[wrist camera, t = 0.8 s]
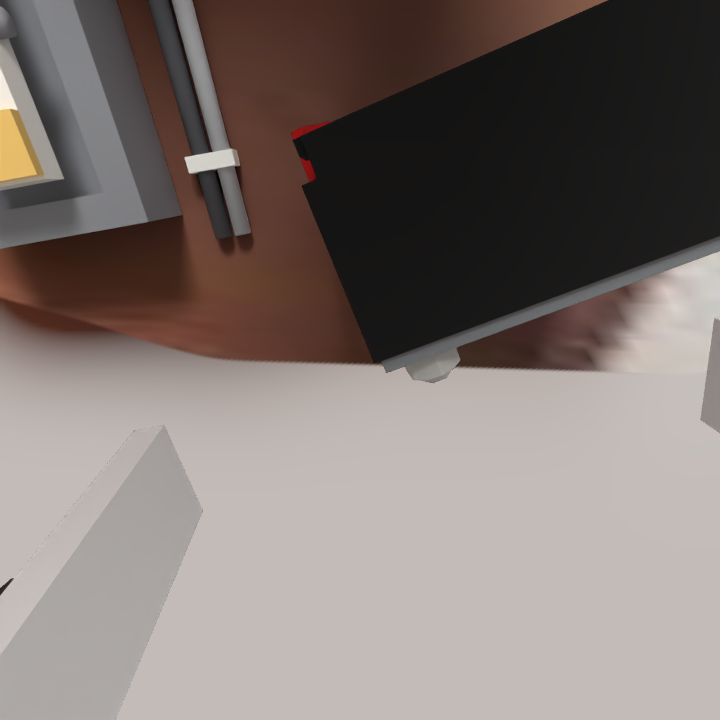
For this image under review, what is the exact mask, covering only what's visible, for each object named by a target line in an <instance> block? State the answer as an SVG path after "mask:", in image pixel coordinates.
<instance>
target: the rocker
mask: <svg viewBox="0 0 720 720" xmlns="http://www.w3.org/2000/svg"><path fill="white" fill-rule="evenodd" d="M16 36H17V28H16V25H15V23H14V21H13V19H12V18H11V16H10V15H9V13H8V12H7V11H6V10H5V9H4V8H3V7H1V6H0V191H2V190H7V189H12V188H18V187H23V186H29V185H34V184H39V183H45V182H50V181H56V180H61V179H64V177H63V175H62V172H61V169H60V167H59V164H58V162H57V159H56V157H55V154H54V152H53V149H52V147H51V144H50V142H49V139H48V137H47V134H46V132H45V129H44V127H43V124H42V122H41V119H40V117H39V114H38V111H37V109H36V106H35V104H34V101H33V99H32V96H31V94H30V91H29V89H28V86H27V84H26V81H25V79H24V76H23V74H22V71H21V69H20V66H19V64H18V61H17V59H16V56H15V54H14V51H13V48H12V46H11V43H10V41H9V38H12V37H16Z"/></svg>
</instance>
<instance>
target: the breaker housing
mask: <svg viewBox="0 0 720 720" xmlns="http://www.w3.org/2000/svg"><path fill="white" fill-rule="evenodd" d="M0 6H1V7H3V8H4V9H5V10H6V11H7V12H8V13H9V15H10V16H11V18H12V19H13V21H14V23H15V25H16V28H17V36H16V37H12V38H9V41H10V43H11V46H12V48H13V51H14V54H15V56H16V59H17V61H18V64H19V66H20V69H21V71H22V74H23V76H24V79H25V81H26V84H27V86H28V89H29V91H30V94H31V96H32V99H33V101H34V104H35V106H36V109H37V111H38V114H39V117H40V119H41V122H42V124H43V127H44V129H45V132H46V134H47V137H48V139H49V142H50V144H51V147H52V149H53V152H54V154H55V157H56V159H57V162H58V164H59V167H60V169H61V172H62V175H63V177H64V179H61V180H56V181H50V182H45V183H39V184H34V185H29V186H23V187H18V188H12V189H7V190H2V191H0V249H1V248H7V247H12V246H18V245H23V244H29V243H34V242H40V241H45V240H51V239H56V238H62V237H68V236H73V235H79V234H84V233H90V232H95V231H101V230H106V229H112V228H117V227H123V226H129V225H134V224H140V223H145V222H150V221H155V220H160V219H165V218H170V217H175V216H180V215H183V214H182V211H181V208H180V204H179V201H178V198H177V195H176V191H175V188H174V185H173V182H172V178H171V175H170V172H169V169H168V165H167V162H166V159H165V156H164V152H163V149H162V146H161V143H160V139H159V136H158V133H157V130H156V127H155V123H154V120H153V117H152V114H151V110H150V107H149V104H148V101H147V97H146V94H145V91H144V88H143V84H142V81H141V78H140V75H139V71H138V68H137V65H136V62H135V58H134V55H133V52H132V49H131V45H130V42H129V39H128V36H127V32H126V29H125V26H124V23H123V20H122V16H121V13H120V10H119V7H118V3H117V0H0Z"/></svg>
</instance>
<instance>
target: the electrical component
mask: <svg viewBox="0 0 720 720" xmlns="http://www.w3.org/2000/svg"><path fill="white" fill-rule="evenodd" d="M291 135H292V137H293V142H294V144H295V147H296V149H297V152H298V154H299V157H300V158H301V161H302V163H303V166H304V169H305V171H306V174H307V176H308V179H309V182H310V183H307V184H305V185H302V188H303V190H304V193H305V195H306V198H307V200H308V203H309V205H310V208H311V210H312V212H313V215H314V217H315V220H316V222H317V225H318V227H319V230H320V232H321V234H322V237H323V239H324V242H325V244H326V247H327V249H328V252H329V254H330V256H331V259H332V261H333V264H334V266H335V269H336V271H337V274H338V276H339V278H340V281H341V283H342V286H343V288H344V291H345V293H346V296H347V298H348V300H349V303H350V305H351V308H352V310H353V313H354V315H355V318H356V320H357V322H358V325H359V327H360V330H361V332H362V335H363V337H364V340H365V342H366V344H367V347H368V349H369V352H370V354H371V357H372V359H373V362H374V364H375V363H378V362H380V361H382V364H383V366H384V369H385V371H386V373H388V372H391V371H393V370H396V369H399V368H402V367H404V366H405V367H406V370H407V371H408V373H409V374H410V376H411V377H412V379H413V380H422V381H426V382H430V383H435V382H437V381H440V380H442V379H445V378H447V376H448V374H449V373H450V371H451V370H453V369H454V367H455V366H456V365H457V364H458V362H459V361H460V357H459V354H458V351H457V348H456V347H459V346H462V345H464V344H467V343H470V342H473V341H475V340H478V339H481V338H484V337H486V336H489V335H492V334H494V333H497V332H500V331H503V330H505V329H508V328H511V327H514V326H516V325H519V324H522V323H525V322H527V321H530V320H533V319H535V318H538V317H541V316H544V315H546V314H549V313H552V312H555V311H557V310H560V309H563V308H566V307H568V306H571V305H574V304H576V303H579V302H582V301H585V300H587V299H590V298H593V297H596V296H598V295H601V294H604V293H607V292H609V291H612V290H615V289H617V288H620V287H623V286H626V285H628V284H631V283H634V282H637V281H639V280H642V279H645V278H647V277H650V276H653V275H656V274H658V273H661V272H664V271H667V270H669V269H672V268H675V267H678V266H680V265H683V264H686V263H688V262H691V261H694V260H697V259H699V258H702V257H705V256H708V255H710V254H713V253H716V252H719V251H720V0H608V1H605V2H603V3H601V4H599V5H596V6H594V7H592V8H590V9H587V10H585V11H583V12H580V13H578V14H576V15H574V16H571V17H569V18H567V19H565V20H562V21H560V22H558V23H555V24H553V25H551V26H549V27H546V28H544V29H542V30H540V31H537V32H535V33H533V34H531V35H528V36H526V37H524V38H521V39H519V40H517V41H515V42H512V43H510V44H508V45H506V46H503V47H501V48H499V49H496V50H494V51H492V52H490V53H487V54H485V55H483V56H481V57H478V58H476V59H474V60H472V61H469V62H467V63H465V64H462V65H460V66H458V67H456V68H453V69H451V70H449V71H447V72H444V73H442V74H440V75H437V76H435V77H433V78H431V79H428V80H426V81H424V82H422V83H419V84H417V85H415V86H412V87H410V88H408V89H406V90H403V91H401V92H399V93H397V94H394V95H392V96H390V97H388V98H385V99H383V100H381V101H378V102H376V103H374V104H372V105H369V106H367V107H365V108H363V109H360V110H358V111H356V112H353V113H351V114H349V115H347V116H344V117H342V118H340V119H338V120H335V121H332V122H326V123H321V124H316V125H311V126H306V127H301V128H299V129H297V130H295V131H293V132H291Z"/></svg>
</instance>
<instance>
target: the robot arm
mask: <svg viewBox="0 0 720 720" xmlns="http://www.w3.org/2000/svg"><path fill="white" fill-rule="evenodd" d="M701 420H702V421H703V422H705V423H706V424H707V425H709V426H710V427H712V428H713V429H715V430H716V431H717V432H719V433H720V317H718V318H714V325H713V333H712V340H711V347H710V354H709V362H708V369H707V376H706V383H705V391H704V398H703V405H702V413H701ZM202 511H203V510H202V508H201V506H200V504H199V501H198V499H197V497H196V495H195V492H194V491H193V488H192V486H191V484H190V481H189V479H188V477H187V475H186V473H185V470H184V468H183V466H182V463H181V461H180V459H179V457H178V455H177V452H176V450H175V448H174V446H173V443H172V441H171V439H170V437H169V435H168V432H167V430H166V428H165V426H164V425H161V426H156V427H151V428H146V429H140V430H135V431H133V433H132V434H131V435H130V436H129V438H128V439H127V440H126V441H125V443H124V444H123V445H122V446H121V447H120V449H119V450H118V451H117V452H116V454H115V455H114V456H113V457H112V459H111V460H110V461H109V462H108V463H107V465H106V466H105V467H104V469H103V470H102V471H101V472H100V473H99V475H98V476H97V477H96V478H95V480H94V481H93V482H92V483H91V485H90V486H89V487H88V488H87V489H86V491H85V492H84V493H83V494H82V496H81V497H80V498H79V499H78V500H77V502H76V503H75V504H74V505H73V507H72V508H71V509H70V510H69V512H68V513H67V514H66V515H65V516H64V518H63V519H62V520H61V522H60V523H59V524H58V525H57V526H56V528H55V529H54V530H53V531H52V533H51V534H50V535H49V536H48V538H47V539H46V540H45V541H44V542H43V544H42V545H41V546H40V547H39V549H38V550H37V551H36V552H35V553H34V555H33V556H32V557H31V558H30V560H29V561H28V562H27V563H26V564H25V566H24V567H23V568H22V570H21V571H20V572H19V573H18V574H17V576H16V577H15V578H12V579H10V580H9V581H8V582H7V583H6V584H5V585H3V586H2V587H1V588H0V720H116V718H117V715H118V712H119V710H120V708H121V706H122V703H123V701H124V698H125V696H126V694H127V691H128V689H129V686H130V684H131V681H132V679H133V676H134V674H135V672H136V670H137V667H138V665H139V662H140V660H141V658H142V655H143V653H144V650H145V648H146V646H147V643H148V641H149V638H150V636H151V634H152V631H153V629H154V627H155V624H156V622H157V619H158V617H159V615H160V612H161V610H162V607H163V605H164V603H165V600H166V598H167V595H168V593H169V591H170V588H171V586H172V583H173V581H174V578H175V576H176V574H177V571H178V569H179V567H180V564H181V562H182V559H183V557H184V555H185V552H186V550H187V547H188V545H189V543H190V540H191V538H192V535H193V533H194V531H195V528H196V526H197V523H198V521H199V518H200V516H201V514H202Z"/></svg>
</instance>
